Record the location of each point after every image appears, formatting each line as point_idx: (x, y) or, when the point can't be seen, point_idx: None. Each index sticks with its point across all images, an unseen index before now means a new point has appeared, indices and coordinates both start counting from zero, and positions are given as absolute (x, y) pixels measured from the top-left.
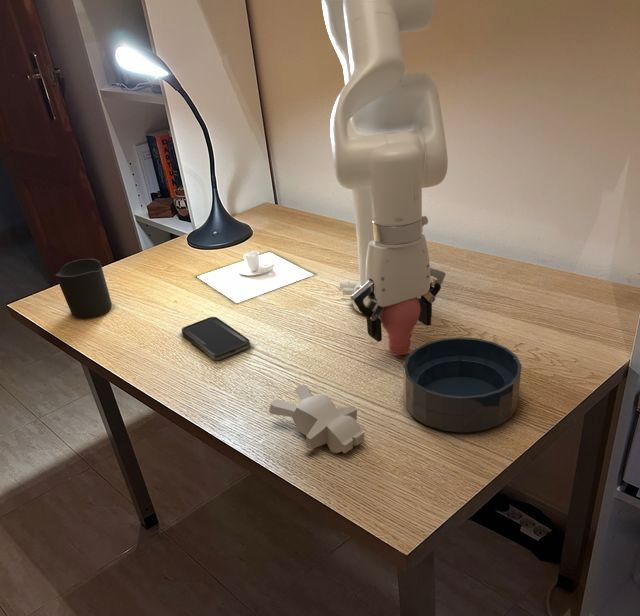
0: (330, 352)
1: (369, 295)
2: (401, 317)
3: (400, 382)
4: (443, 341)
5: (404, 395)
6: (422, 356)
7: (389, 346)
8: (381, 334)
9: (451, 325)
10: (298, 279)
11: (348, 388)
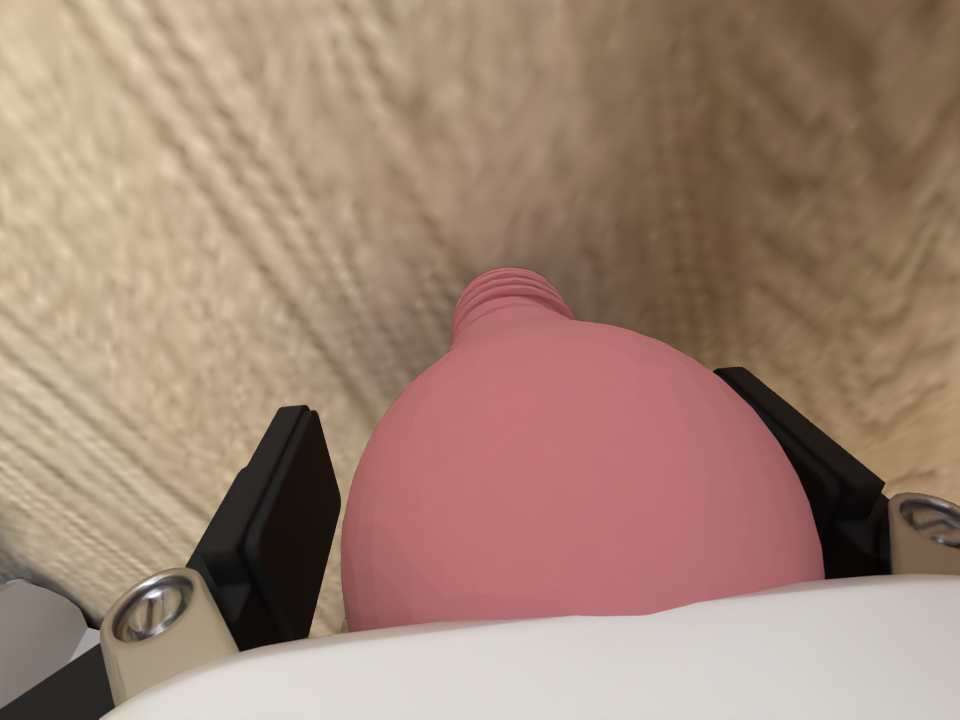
0: (83, 61)
1: (139, 709)
2: None
3: None
4: None
5: (347, 626)
6: None
7: (452, 327)
8: (331, 537)
9: (933, 187)
10: None
11: (167, 458)
